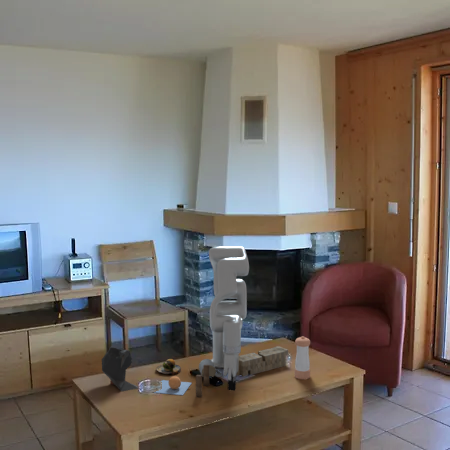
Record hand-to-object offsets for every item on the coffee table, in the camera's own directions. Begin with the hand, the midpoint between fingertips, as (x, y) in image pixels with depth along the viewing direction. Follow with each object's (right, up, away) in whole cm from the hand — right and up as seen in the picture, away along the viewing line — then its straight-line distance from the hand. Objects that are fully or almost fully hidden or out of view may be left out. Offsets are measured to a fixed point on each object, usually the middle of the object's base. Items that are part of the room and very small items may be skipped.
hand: (231, 389), depth 242 cm
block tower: (+14, +1, +29) cm, 33 cm away
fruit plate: (-30, +1, +26) cm, 40 cm away
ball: (-25, +2, +5) cm, 26 cm away
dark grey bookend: (-51, -1, +9) cm, 51 cm away
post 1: (-14, -2, -3) cm, 15 cm away
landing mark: (-26, -1, +6) cm, 27 cm away
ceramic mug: (-10, 0, +20) cm, 22 cm away
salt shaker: (+33, 0, +19) cm, 38 cm away
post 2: (-11, -1, +9) cm, 15 cm away
